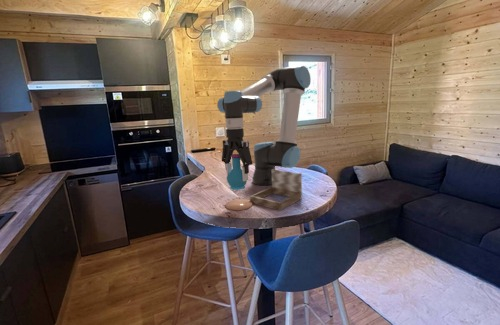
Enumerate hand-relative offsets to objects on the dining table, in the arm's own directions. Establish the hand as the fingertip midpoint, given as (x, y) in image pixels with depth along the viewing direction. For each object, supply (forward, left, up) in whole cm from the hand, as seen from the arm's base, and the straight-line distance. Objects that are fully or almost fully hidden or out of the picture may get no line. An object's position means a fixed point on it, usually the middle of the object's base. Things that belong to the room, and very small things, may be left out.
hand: (237, 178), depth 120 cm
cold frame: (+10, +15, -13) cm, 22 cm away
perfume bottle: (0, 0, -4) cm, 4 cm away
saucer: (0, 0, -13) cm, 13 cm away
